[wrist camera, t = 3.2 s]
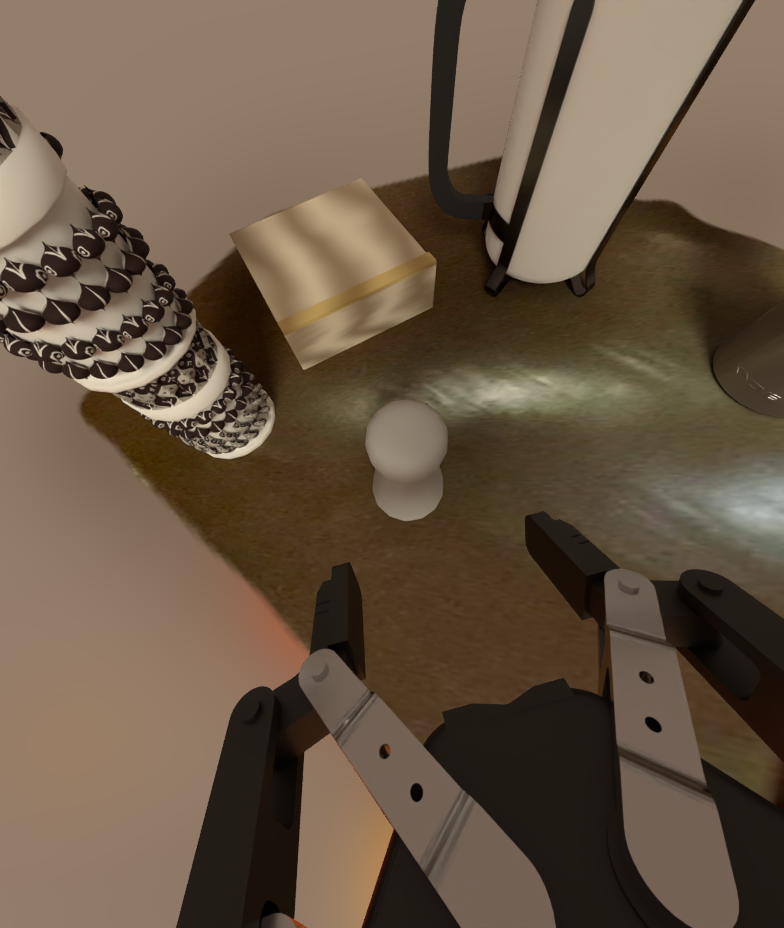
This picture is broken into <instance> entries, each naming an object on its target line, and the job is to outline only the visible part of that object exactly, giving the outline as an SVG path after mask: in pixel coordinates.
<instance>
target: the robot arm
mask: <svg viewBox="0 0 784 928" xmlns="http://www.w3.org/2000/svg"><path fill="white" fill-rule="evenodd" d="M713 369H714V373H715V375H716V378H717V380H718V382H719V383H720V385H721V386H722V388H723V389H724V390H725V391H726V392H727V393H728V394H729V395H730V396H731V397H732V398H734V399H735V400H736V401H737V402H739V403H740V404H742V405H744V406H745V407H747V408H749V409H751V410H753V411H756V412H759V413H761V414H764V415H768V416H773V417H781V418H784V300H783V301H782V302H780V303H779V304H777V305H776V306H775V307H773V308H772V309H770V310H769V311H767V312H766V313H764V314H763V315H762V316H760V317H759V318H757V319H756V320H755V321H753V322H752V323H750V324H749V325H747V326H746V327H745V328H743V329H742V330H740V331H739V332H738V333H736V334H735V335H733V336H732V337H731V338H729V339H728V340H726V341H725V342H724V343H723V344H721V345H720V346H719V347H718V349H717V350H716V352H715V354H714V359H713ZM525 540H526V546H527V549H528V551H529V553H530V555H531V556H532V558H533V559H534V560H535V561H536V563H537V564H538V565H539V566H540V568H541V569H542V570H543V571H544V573H545V574H546V575H547V576H548V578H549V579H550V580H551V581H552V583H553V584H554V585H555V587H556V588H557V589H558V590H559V592H560V593H561V594H562V595H563V597H564V598H565V599H566V600H567V602H568V603H569V604H570V605H571V607H572V608H573V609H574V610H575V612H576V613H577V614H578V616H579V617H580V618H581V619H582V620H585V619H588V618H592V617H593V618H594V619H595V620H596V622H597V623H598V627H597V634H598V670H599V680H598V695H597V694H595V693H592V692H589V691H585V690H581V689H575V688H570V687H569V686H568V684H567V682H566V681H565V679H564V678H562V679H558V680H554V681H551V682H547V683H544V684H540V685H537V686H534V687H532V688H531V689H529V690H528V691H527V692H525V693H524V694H522V695H521V696H519V697H518V698H517V699H515V700H514V701H512V702H511V703H509V704H506V705H500V704H469V705H465V706H462V707H458V708H455V709H451V710H448V711H444V712H442V713H443V717H444V721H445V722H444V723H443V724H441V725H440V726H439V727H438V728H437V729H436V730H434V731H433V732H432V734H431V735H430V736H429V737H428V739H427V740H426V742H425V743H424V745H422V744H421V743H420V742H419V741H418V740H417V739H416V737H415V736H414V735H413V734H412V733H411V732H410V731H409V730H408V729H407V727H406V726H405V725H404V724H403V723H402V722H401V721H400V720H399V719H398V717H397V716H396V715H395V714H394V713H393V712H392V711H391V710H390V709H389V707H388V706H387V705H386V704H385V703H384V702H383V701H382V700H381V699H380V697H379V696H378V695H377V694H375V693H374V692H370V691H369V690H368V689H367V688H366V687H365V686H364V685H363V683H362V682H361V681H360V680H364V679H366V675H365V654H364V633H363V611H362V596H361V591H360V587H359V584H358V582H357V579H356V576H355V574H354V571H353V569H352V566H351V564H350V562H348V563H344V564H341V565H337V566H333V568H332V578H331V580H329V581H325V582H323V583H322V585H321V587H320V589H319V591H318V593H317V599H316V607H315V616H314V624H313V633H312V641H311V649H310V655H309V657H308V658H307V659H306V660H305V662H304V663H303V665H302V667H301V669H300V672H299V673H298V674H297V675H296V676H295V677H293V678H292V679H291V680H289V681H287V682H286V683H284V684H283V685H281V686H279V687H278V688H276V689H275V690H273V691H272V690H271V689H270V688H268V687H264V686H262V687H257V688H254V689H252V690H251V691H249V692H248V693H247V694H245V695H244V696H243V697H242V698H241V699H240V701H239V702H238V703H237V705H236V706H235V708H234V710H233V712H232V714H231V717H230V720H229V724H228V728H227V732H226V736H225V740H224V744H223V747H222V751H221V755H220V759H219V763H218V767H217V771H216V775H215V779H214V783H213V786H212V790H211V794H210V798H209V802H208V806H207V810H206V814H205V818H204V822H203V825H202V829H201V833H200V837H199V841H198V845H197V849H196V852H195V856H194V860H193V864H192V868H191V872H190V876H189V880H188V884H187V888H186V891H185V895H184V899H183V903H182V907H181V911H180V915H179V919H178V922H177V926H176V928H306V926H304V925H303V924H301V923H300V922H298V921H296V920H294V914H295V897H296V879H297V864H298V847H299V829H300V813H301V797H302V781H303V764H304V752H305V751H306V750H307V749H309V748H310V747H312V746H313V745H314V744H316V743H317V742H318V741H320V740H321V739H322V738H324V737H325V736H326V735H328V734H329V733H331V735H332V736H333V738H334V739H335V741H336V742H337V744H338V745H339V747H340V748H341V750H342V751H343V753H344V754H345V756H346V757H347V759H348V761H349V762H350V763H351V765H352V766H353V768H354V770H355V771H356V772H357V774H358V776H359V777H360V779H361V780H362V782H363V783H364V785H365V786H366V788H367V789H368V791H369V792H370V794H371V795H372V797H373V798H374V800H375V801H376V803H377V804H378V806H379V807H380V809H381V810H382V812H383V814H384V815H385V817H386V818H387V819H388V821H389V823H390V824H391V826H392V827H393V828H394V830H393V833H392V836H391V839H390V843H389V846H388V848H387V852H386V855H385V858H384V861H383V864H382V867H381V870H380V873H379V876H378V880H377V882H376V885H375V888H374V891H373V894H372V898H371V901H370V904H369V907H368V910H367V913H366V916H365V919H364V922H363V925H362V928H784V810H782V809H780V808H779V807H777V806H776V805H774V804H772V803H771V802H769V801H768V800H766V799H765V798H763V797H761V796H760V795H758V794H757V793H755V792H754V791H752V790H750V789H749V788H747V787H746V786H744V785H743V784H741V783H739V782H738V781H736V780H735V779H733V778H732V777H730V776H728V775H727V774H725V773H724V772H722V771H721V770H719V769H717V768H716V767H714V766H713V765H711V764H710V763H708V762H706V761H705V760H703V759H702V758H700V755H699V751H698V747H697V742H696V738H695V734H694V729H693V725H692V721H691V716H690V712H689V707H688V703H687V699H686V694H685V690H684V686H683V681H682V677H681V673H680V668H679V664H678V660H677V655H676V651H675V648H676V649H677V650H678V651H679V652H680V653H681V654H682V655H683V656H684V657H685V658H686V659H687V660H688V661H689V662H690V664H691V665H692V666H693V667H694V668H695V669H696V670H697V671H698V672H699V673H700V674H701V675H702V676H703V677H704V678H705V679H706V681H707V682H708V683H709V684H710V685H711V686H712V687H713V688H714V689H715V690H716V691H717V692H718V693H719V694H720V695H721V696H722V698H723V699H724V700H725V701H726V702H727V703H728V704H729V705H730V706H731V707H732V708H733V709H734V710H735V711H736V712H737V713H738V715H739V716H740V717H741V718H742V719H743V720H744V721H745V722H746V723H747V724H748V725H749V726H750V727H751V728H752V729H753V730H754V732H755V733H756V734H757V735H758V736H759V737H760V738H761V739H762V740H763V741H764V742H765V743H766V744H767V745H768V746H769V747H770V749H771V750H772V751H773V752H774V753H775V754H776V755H777V756H778V757H779V758H780V759H781V760H782V761H783V762H784V619H783V618H782V617H780V616H779V615H777V614H776V613H775V612H773V611H772V610H770V609H769V608H768V607H766V606H765V605H763V604H762V603H761V602H759V601H758V600H756V599H755V598H754V597H752V596H751V595H749V594H748V593H747V592H745V591H744V590H743V589H741V588H740V587H738V586H737V585H736V584H734V583H733V582H731V581H730V580H728V579H727V578H725V577H723V576H721V575H718V574H716V573H713V572H710V571H705V570H698V569H692V570H687V571H685V572H683V573H682V574H681V576H680V579H679V581H653V580H648V579H647V578H646V577H644V576H643V575H641V574H639V573H637V572H634V571H631V570H627V569H621V568H619V567H618V566H617V565H616V564H615V563H614V562H613V561H611V560H610V559H609V558H608V557H607V556H606V555H605V554H604V553H602V552H601V551H600V550H599V549H598V548H597V547H596V546H595V545H594V544H592V543H591V542H589V540H588V539H587V538H586V537H585V536H583V535H582V534H581V533H580V532H579V531H578V530H577V529H576V528H574V527H573V526H572V525H570V524H568V523H566V522H564V521H562V520H560V519H559V520H555V521H554V520H553V519H552V518H551V517H550V516H549V515H548V514H547V513H546V512H544V511H542V512H538V513H534V514H531V515H527V516H526V517H525ZM674 647H675V648H674Z"/></svg>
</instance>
